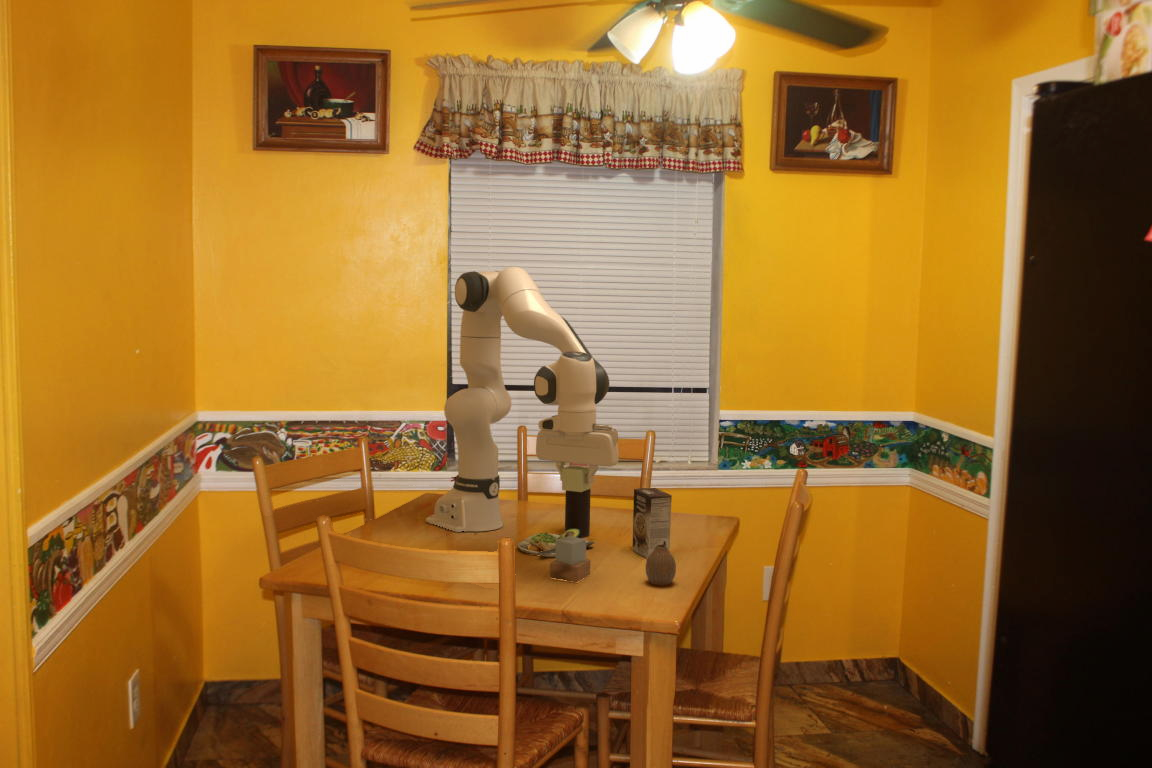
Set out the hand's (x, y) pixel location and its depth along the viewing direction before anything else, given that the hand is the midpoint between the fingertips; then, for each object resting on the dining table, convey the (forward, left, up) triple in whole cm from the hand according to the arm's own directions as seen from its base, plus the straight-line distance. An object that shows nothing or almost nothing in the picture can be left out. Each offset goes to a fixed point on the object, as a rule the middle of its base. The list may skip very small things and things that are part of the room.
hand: (576, 482), depth 216 cm
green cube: (0, 0, -2) cm, 2 cm away
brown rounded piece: (+19, +7, -22) cm, 30 cm away
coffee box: (+5, +26, -22) cm, 35 cm away
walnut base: (0, -2, -22) cm, 22 cm away
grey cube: (0, -2, -18) cm, 18 cm away
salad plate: (-17, +15, -23) cm, 32 cm away
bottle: (-20, +29, -22) cm, 42 cm away
